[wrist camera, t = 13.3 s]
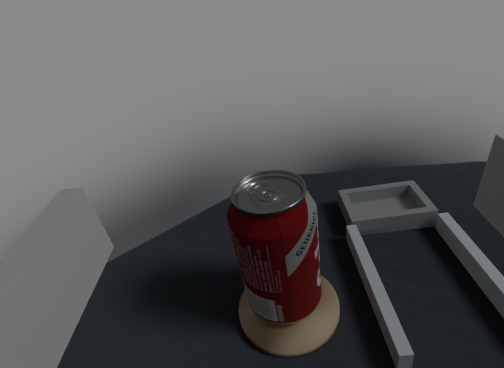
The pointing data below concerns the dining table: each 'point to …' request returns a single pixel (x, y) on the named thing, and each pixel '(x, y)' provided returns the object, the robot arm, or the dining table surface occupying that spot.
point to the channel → (476, 263)
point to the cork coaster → (293, 327)
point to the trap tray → (387, 208)
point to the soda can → (276, 245)
